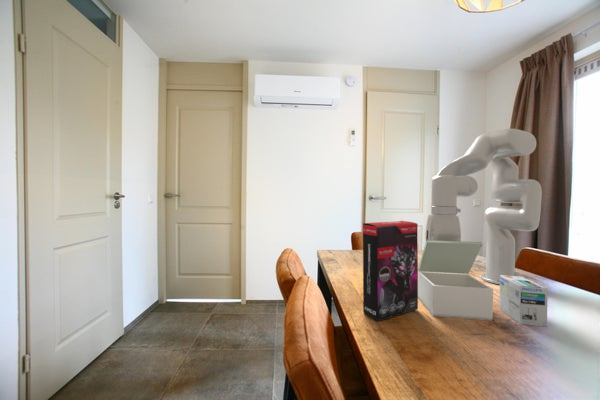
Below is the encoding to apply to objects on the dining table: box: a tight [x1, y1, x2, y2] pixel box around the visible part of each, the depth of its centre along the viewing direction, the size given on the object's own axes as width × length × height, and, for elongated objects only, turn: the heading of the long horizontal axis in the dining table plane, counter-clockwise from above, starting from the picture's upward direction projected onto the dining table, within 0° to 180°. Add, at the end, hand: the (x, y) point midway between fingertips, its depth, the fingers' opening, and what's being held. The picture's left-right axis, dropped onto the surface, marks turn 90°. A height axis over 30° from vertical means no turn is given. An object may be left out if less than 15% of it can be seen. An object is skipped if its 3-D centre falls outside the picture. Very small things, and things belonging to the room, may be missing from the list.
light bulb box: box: [498, 275, 549, 327], centre depth 75 cm, size 11×7×11 cm, turn 168°
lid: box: [418, 240, 483, 275], centre depth 83 cm, size 16×14×1 cm
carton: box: [418, 271, 494, 321], centre depth 80 cm, size 16×14×9 cm
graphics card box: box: [362, 220, 419, 322], centre depth 77 cm, size 17×7×27 cm, turn 117°
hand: (442, 264), depth 88 cm, fingers closed
